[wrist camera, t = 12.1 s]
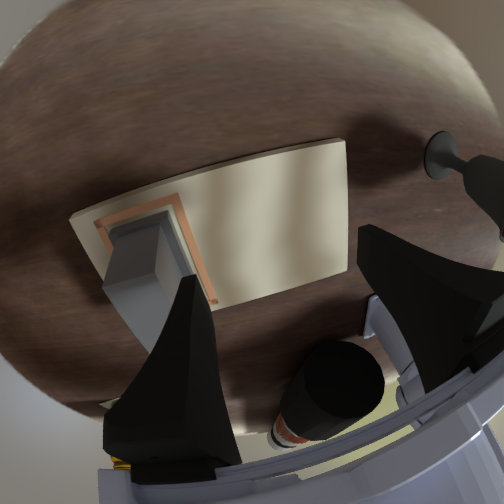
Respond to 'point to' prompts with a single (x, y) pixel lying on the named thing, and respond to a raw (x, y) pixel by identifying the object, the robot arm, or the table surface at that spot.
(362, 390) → the striped banded cylinder
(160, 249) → the block
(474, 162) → the sundae
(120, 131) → the table surface
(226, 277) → the board
